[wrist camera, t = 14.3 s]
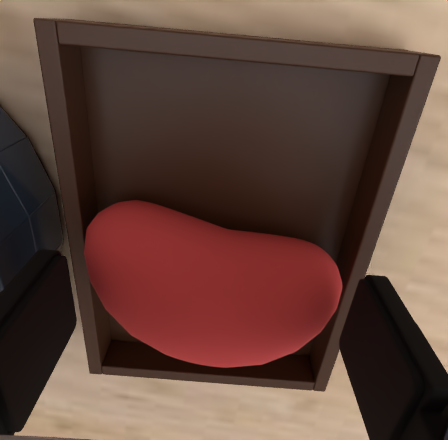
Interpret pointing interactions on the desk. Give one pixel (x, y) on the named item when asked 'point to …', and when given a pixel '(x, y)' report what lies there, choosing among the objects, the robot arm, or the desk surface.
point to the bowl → (23, 203)
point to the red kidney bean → (208, 285)
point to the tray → (228, 157)
